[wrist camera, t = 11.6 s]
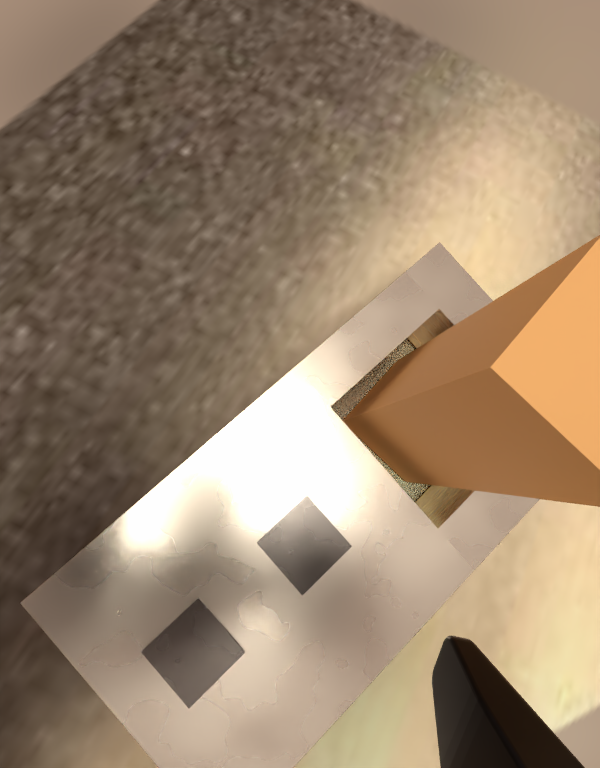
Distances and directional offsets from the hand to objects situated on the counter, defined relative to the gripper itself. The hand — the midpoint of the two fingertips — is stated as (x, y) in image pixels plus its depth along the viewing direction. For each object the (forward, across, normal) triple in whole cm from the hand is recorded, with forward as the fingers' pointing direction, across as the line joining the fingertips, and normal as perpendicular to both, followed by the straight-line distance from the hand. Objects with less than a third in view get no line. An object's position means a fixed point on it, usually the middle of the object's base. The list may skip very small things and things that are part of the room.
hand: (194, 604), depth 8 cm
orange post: (+14, -6, +1) cm, 15 cm away
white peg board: (+12, -3, +4) cm, 13 cm away
